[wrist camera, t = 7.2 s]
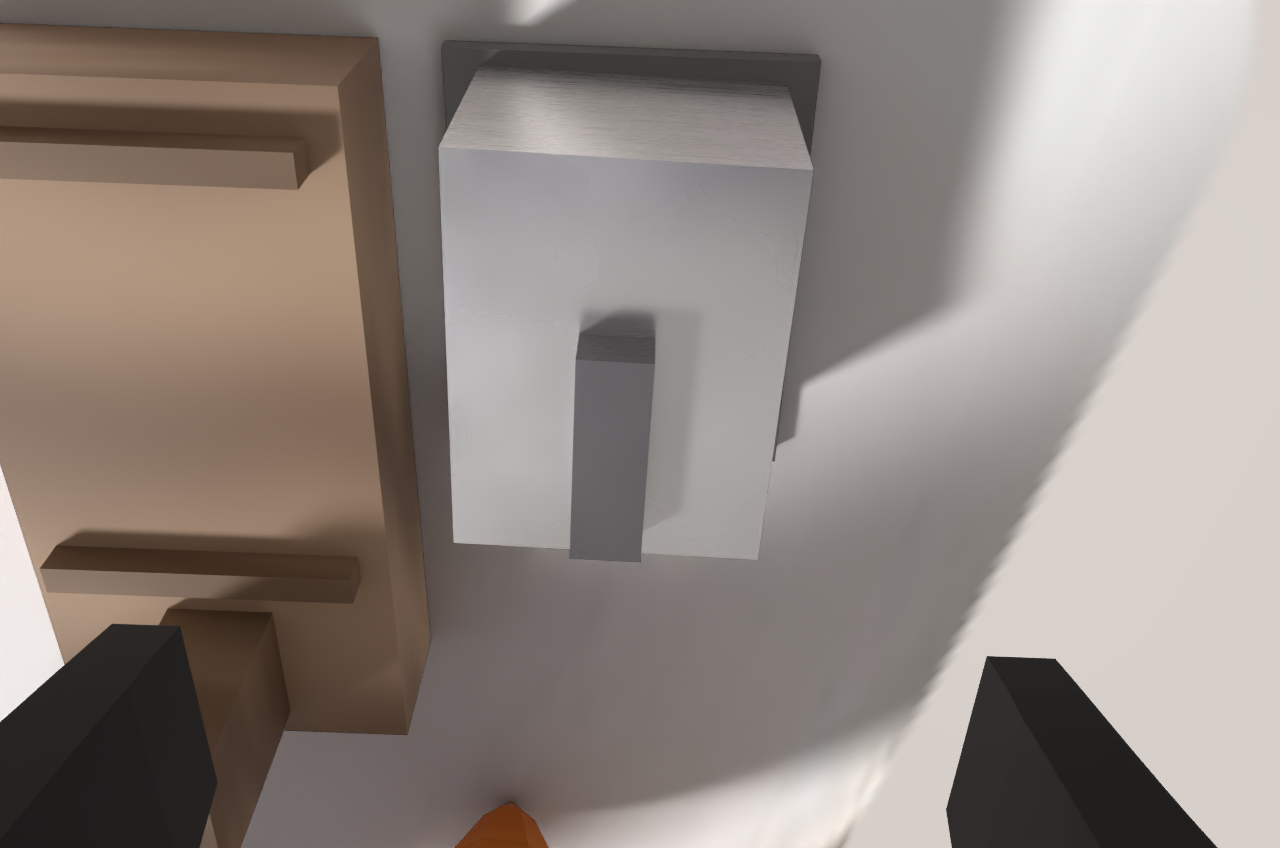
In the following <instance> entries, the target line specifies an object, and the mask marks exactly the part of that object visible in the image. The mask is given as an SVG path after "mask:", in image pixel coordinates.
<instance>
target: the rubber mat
mask: <svg viewBox="0 0 1280 848" xmlns="http://www.w3.org/2000/svg"><path fill="white" fill-rule="evenodd" d="M442 65H443V82H444V99H445V116H446V131H447V129H448V127H449V125H450V123H451V121H452V119H453V117H454V115H455V113H456V111H457V109H458V107H459V105H460V103H461V101H462V99H463V97H464V95H465V93H466V91H467V89H468V87H469V85H470V83H471V81H472V79H473V77H474V75H475V73H476V71H477V69H478V67H479V65H481V66H497V67H513V68H529V69H545V70H561V71H577V72H593V73H609V74H625V75H641V76H657V77H673V78H689V79H705V80H721V81H737V82H754V83H770V84H786V85H787V87H788V90H789V93H790V96H791V100H792V103H793V106H794V109H795V112H796V115H797V118H798V122H799V125H800V128H801V131H802V134H803V137H804V141H805V144H806V147H807V150H808V153H809V156H810V152H811V144H812V135H813V126H814V118H815V109H816V100H817V92H818V83H819V75H820V66H821V61H820V59H819V56H818V55H810V54H784V53H758V52H732V51H707V50H681V49H655V48H629V47H603V46H577V45H551V44H525V43H499V42H473V41H447V40H446V41H445V43H444V44H443V46H442ZM785 368H786V367H785ZM784 376H785V374H784ZM783 385H784V381H783ZM782 393H783V388H782ZM781 402H782V395H781ZM781 402H780V409H779V416H778V423H777V430H776V437H775V444H774V451H773V458H772V461H775V454H776V445H777V437H778V428H779V419H780V411H781Z"/></svg>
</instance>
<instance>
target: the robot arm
mask: <svg viewBox="0 0 1280 848" xmlns="http://www.w3.org/2000/svg"><path fill="white" fill-rule="evenodd" d="M217 783H218V782H217V777H216V773H215V769H214V765H213V761H212V757H211V752H210V748H209V744H208V740H207V736H206V732H205V727H204V723H203V719H202V715H201V711H200V707H199V703H198V698H197V694H196V690H195V686H194V682H193V678H192V673H191V669H190V665H189V661H188V657H187V653H186V648H185V644H184V640H183V636H182V632H181V628H180V626H163V625H136V624H111V625H110V626H109V627H108V628H106V629H105V630H104V631H103V632H102V633H101V634H99V635H98V636H97V637H96V638H95V639H94V640H92V641H91V642H90V643H89V644H88V645H87V646H86V647H84V648H83V649H82V650H81V651H80V652H79V653H78V654H76V655H75V656H74V657H73V658H72V659H71V660H70V661H69V662H67V663H66V664H65V665H64V666H63V667H62V668H61V669H59V670H58V671H57V672H56V673H55V674H54V675H53V676H52V677H50V678H49V679H48V680H47V681H46V682H45V683H44V684H43V685H41V686H40V687H39V688H38V689H37V690H36V691H35V692H34V693H32V694H31V695H30V696H29V697H28V698H27V699H26V700H25V701H23V702H22V703H21V704H20V705H19V706H18V707H17V708H16V709H14V710H13V711H12V712H11V713H10V714H9V715H8V716H7V717H5V718H4V719H3V720H2V721H1V722H0V848H200V845H201V841H202V838H203V834H204V830H205V827H206V823H207V820H208V816H209V812H210V809H211V805H212V802H213V798H214V794H215V791H216V787H217ZM946 811H947V818H948V825H949V831H950V837H951V844H952V848H1217V847H1216V846H1215V845H1214V843H1213V842H1212V841H1211V840H1210V839H1209V838H1208V837H1207V836H1206V834H1204V832H1203V831H1202V830H1201V829H1200V828H1199V827H1198V826H1197V825H1196V823H1195V822H1194V821H1193V820H1192V819H1191V818H1190V817H1189V816H1188V815H1187V814H1186V812H1185V811H1184V810H1183V809H1182V808H1181V806H1180V805H1179V804H1178V803H1177V802H1176V801H1175V799H1174V798H1173V797H1172V796H1171V795H1170V794H1169V793H1168V791H1167V790H1166V789H1165V788H1164V787H1163V786H1162V784H1161V783H1160V782H1159V781H1158V780H1157V779H1156V777H1155V776H1154V775H1153V774H1152V773H1151V772H1150V770H1149V769H1148V768H1147V767H1146V766H1145V765H1144V763H1143V762H1142V761H1141V760H1140V759H1139V757H1138V756H1137V755H1136V754H1135V753H1134V752H1133V750H1132V749H1131V748H1130V747H1129V746H1128V744H1127V743H1126V742H1125V741H1124V740H1123V738H1122V737H1121V736H1120V735H1119V734H1118V733H1117V731H1116V730H1115V729H1114V728H1113V727H1112V725H1111V724H1110V723H1109V722H1108V721H1107V719H1106V718H1105V717H1104V716H1103V715H1102V713H1101V712H1100V711H1099V710H1098V709H1097V708H1096V706H1095V705H1094V704H1093V703H1092V702H1091V700H1090V699H1089V698H1088V697H1087V696H1086V694H1085V693H1084V692H1083V691H1082V690H1081V689H1080V687H1079V686H1078V685H1077V684H1076V682H1074V680H1073V679H1072V678H1071V677H1070V675H1068V673H1067V672H1066V671H1065V670H1064V668H1063V667H1062V666H1061V665H1060V664H1059V663H1058V662H1057V661H1056V659H1046V658H1019V657H992V656H991V657H990V656H987V658H986V662H985V666H984V669H983V673H982V677H981V681H980V684H979V688H978V692H977V695H976V699H975V703H974V707H973V711H972V714H971V718H970V722H969V726H968V729H967V733H966V737H965V741H964V744H963V748H962V752H961V756H960V760H959V763H958V767H957V771H956V775H955V779H954V782H953V787H952V790H951V793H950V797H949V801H948V805H947V808H946Z"/></svg>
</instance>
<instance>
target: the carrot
mask: <svg viewBox="0 0 1280 848" xmlns="http://www.w3.org/2000/svg"><path fill="white" fill-rule="evenodd" d="M455 848H548V846H547V844H546V842H545V840H544V838H543V836H542V834H541V832H540V830H539V828H538V826H537V824H536V822H535V820H534V819H533V818H531V817H530V816H529V815H528V814H526V813H525V812H524V811H523V810H521V809H520V808H519V807H518V806H516V805H515V804H514V803H507V804H505V805H503V806H500V807H498V808H496V809H495V810H493V811H491V812H489V813H487V814H485V815H484V816H483V817H482V818H481V819H480V820H479V821H478V822H477V824H476V825H475V826H474V827H473V828H472V829H471V830H470V831H469V832H468V834H467V835H466V836H465V837H464V838H463V839H462V840H461V841H460V842H459V844H458V845H457V846H456V847H455Z"/></svg>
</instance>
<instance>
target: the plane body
mask: <svg viewBox="0 0 1280 848" xmlns="http://www.w3.org/2000/svg"><path fill="white" fill-rule="evenodd" d="M0 465H1V468H2V471H3V474H4V477H5V481H6V484H7V487H8V490H9V493H10V496H11V499H12V502H13V505H14V509H15V512H16V515H17V518H18V521H19V524H20V527H21V530H22V533H23V537H24V540H25V543H26V546H27V549H28V552H29V555H30V558H31V561H32V565H33V568H34V571H35V574H36V577H37V580H38V583H39V586H40V589H41V593H42V596H43V599H44V602H45V605H46V608H47V611H48V614H49V617H50V621H51V624H52V627H53V630H54V633H55V636H56V639H57V642H58V645H59V649H60V652H61V655H62V658H63V661H64V664H66V663H67V662H69V661H70V660H71V659H72V658H73V657H74V656H75V655H76V654H78V653H79V652H80V651H81V650H82V649H83V648H84V647H86V646H87V645H88V644H89V643H90V642H91V641H92V640H94V639H95V638H96V637H97V636H98V635H99V634H101V633H102V632H103V631H104V630H105V629H106V628H108V627H109V626H110V625H111V624H136V625H163V626H180V628H181V632H182V636H183V640H184V644H185V648H186V653H187V657H188V661H189V665H190V669H191V673H192V678H193V682H194V686H195V690H196V694H197V698H198V703H199V707H200V711H201V715H202V719H203V723H204V727H205V732H206V736H207V740H208V744H209V748H210V752H211V757H212V761H213V765H214V769H215V773H216V777H217V782H218V783H217V787H216V791H215V794H214V798H213V802H212V805H211V809H210V812H209V816H208V820H207V823H206V827H205V830H204V834H203V838H202V841H201V845H200V848H240V847H241V845H242V842H243V839H244V837H245V834H246V831H247V828H248V826H249V823H250V820H251V818H252V815H253V812H254V809H255V807H256V804H257V801H258V799H259V796H260V793H261V790H262V788H263V785H264V782H265V780H266V777H267V774H268V772H269V769H270V766H271V763H272V761H273V758H274V755H275V753H276V750H277V747H278V744H279V742H280V739H281V736H282V734H283V731H311V732H338V733H365V734H392V735H408V731H409V727H410V723H411V719H412V715H413V711H414V707H415V703H416V699H417V694H418V690H419V686H420V682H421V678H422V674H423V670H424V666H425V662H426V658H427V654H428V650H429V646H430V642H431V639H430V628H429V616H428V605H427V593H426V582H425V570H424V559H423V547H422V536H421V524H420V512H419V501H418V489H417V478H416V466H415V455H414V443H413V432H412V420H411V409H410V397H409V386H408V374H407V363H406V351H405V340H404V328H403V317H402V305H401V294H400V282H399V271H398V259H397V248H396V236H395V225H394V213H393V202H392V190H391V179H390V167H389V156H388V144H387V133H386V121H385V110H384V98H383V87H382V75H381V63H380V52H379V40H378V38H369V37H343V36H317V35H291V34H265V33H239V32H213V31H187V30H161V29H135V28H109V27H84V26H58V25H32V24H6V23H0Z"/></svg>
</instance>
